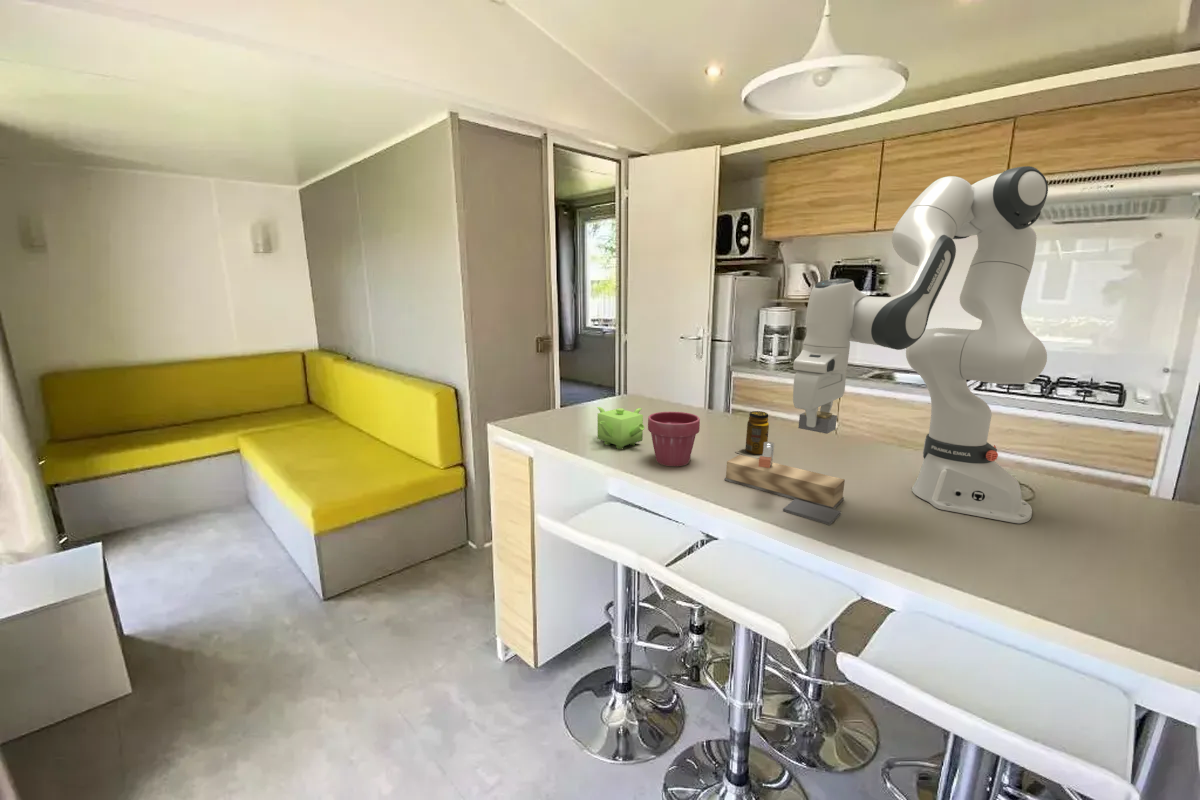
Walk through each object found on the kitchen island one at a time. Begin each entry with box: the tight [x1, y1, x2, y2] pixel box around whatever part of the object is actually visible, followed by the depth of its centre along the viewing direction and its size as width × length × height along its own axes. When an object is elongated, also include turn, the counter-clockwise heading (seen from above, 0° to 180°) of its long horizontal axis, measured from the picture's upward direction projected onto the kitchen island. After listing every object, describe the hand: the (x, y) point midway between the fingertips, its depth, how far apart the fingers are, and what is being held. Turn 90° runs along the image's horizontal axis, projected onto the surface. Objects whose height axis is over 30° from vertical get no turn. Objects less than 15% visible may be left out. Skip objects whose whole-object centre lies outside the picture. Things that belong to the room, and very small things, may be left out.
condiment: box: [735, 410, 770, 459], centre depth 151 cm, size 7×8×12 cm
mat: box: [782, 499, 842, 526], centre depth 113 cm, size 10×7×1 cm
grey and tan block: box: [797, 410, 838, 435], centre depth 110 cm, size 6×5×4 cm
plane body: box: [724, 454, 845, 510], centre depth 125 cm, size 26×7×5 cm, turn 49°
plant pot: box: [647, 411, 701, 467], centre depth 143 cm, size 14×14×13 cm
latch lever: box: [758, 441, 775, 468], centre depth 121 cm, size 14×2×6 cm, turn 158°
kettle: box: [596, 406, 645, 450], centre depth 159 cm, size 15×14×11 cm
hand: (817, 423), depth 110 cm, fingers closed on grey and tan block, 5 cm apart
